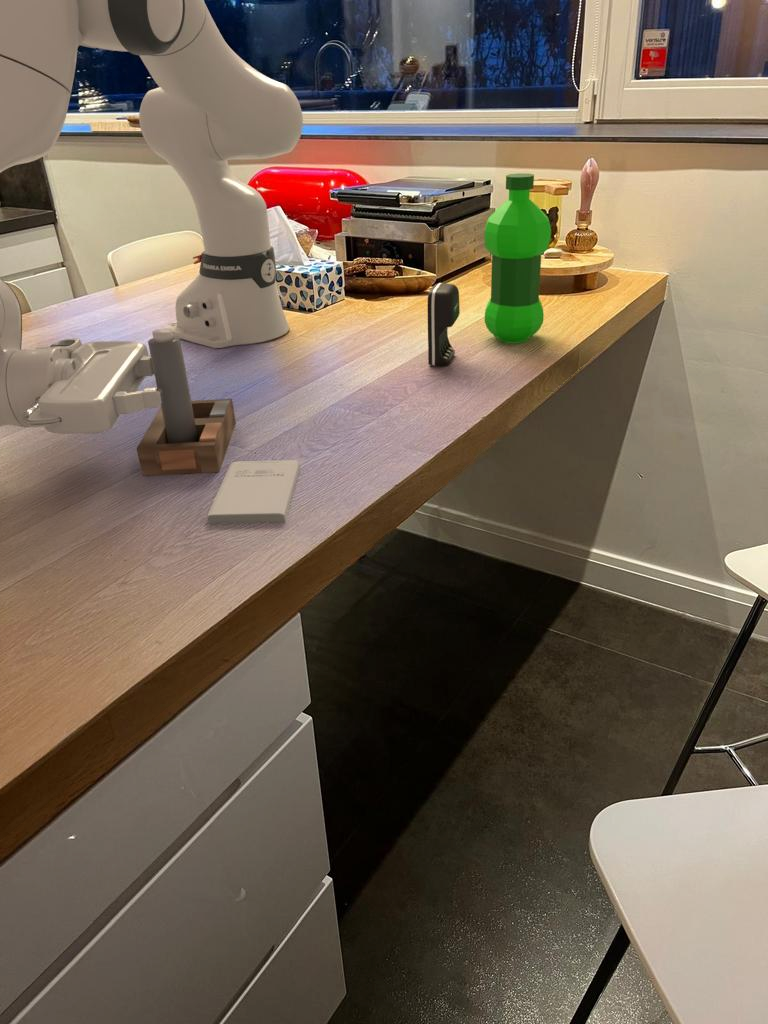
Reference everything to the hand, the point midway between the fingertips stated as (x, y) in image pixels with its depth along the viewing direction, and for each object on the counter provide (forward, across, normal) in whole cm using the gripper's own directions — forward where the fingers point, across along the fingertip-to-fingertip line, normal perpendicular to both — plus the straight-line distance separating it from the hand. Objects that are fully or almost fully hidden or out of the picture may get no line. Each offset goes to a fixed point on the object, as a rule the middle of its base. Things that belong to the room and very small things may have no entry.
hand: (170, 381), depth 89 cm
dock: (0, +4, +10) cm, 11 cm away
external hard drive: (+10, -9, +11) cm, 17 cm away
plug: (0, 0, +10) cm, 10 cm away
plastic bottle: (+47, +40, +10) cm, 62 cm away
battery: (+34, +31, +10) cm, 47 cm away
